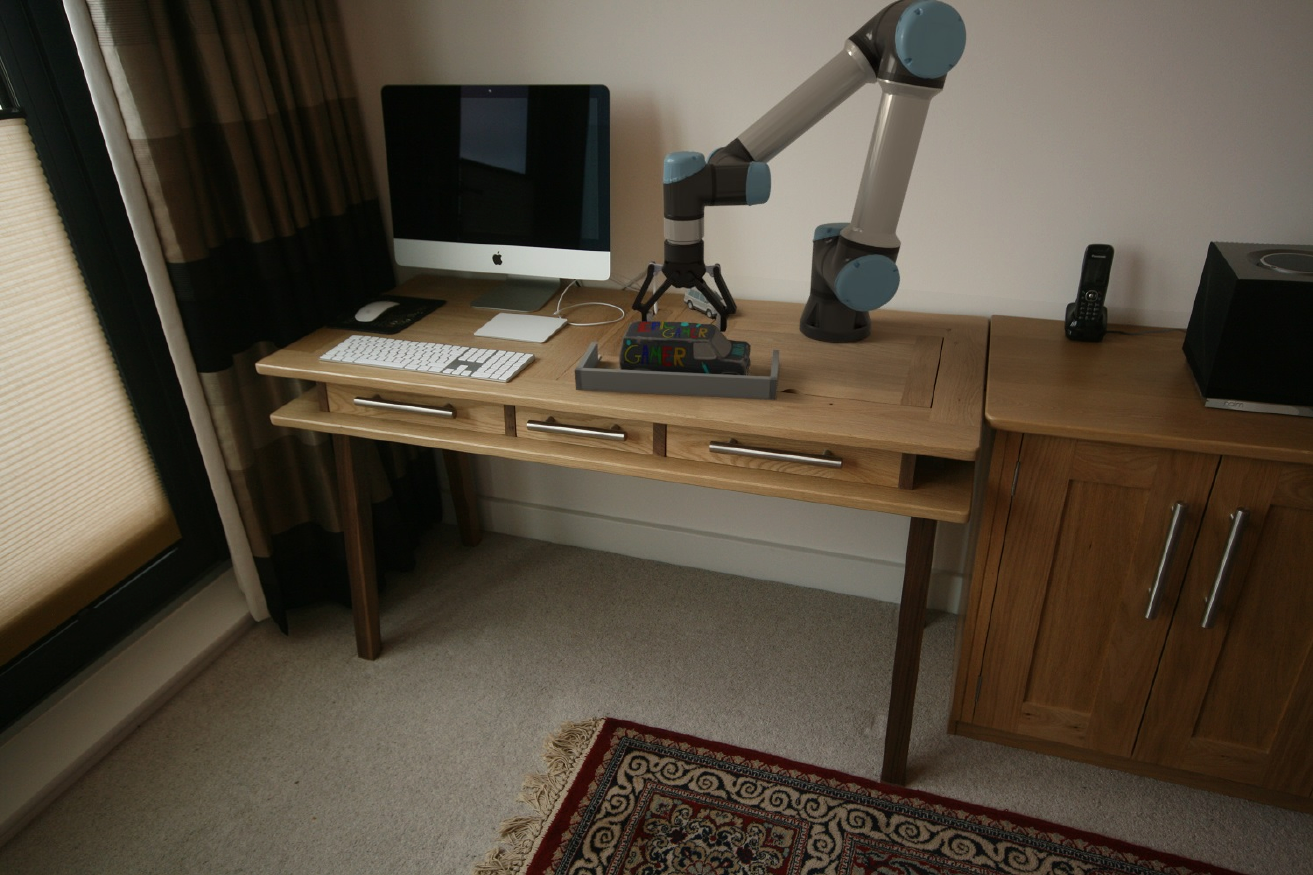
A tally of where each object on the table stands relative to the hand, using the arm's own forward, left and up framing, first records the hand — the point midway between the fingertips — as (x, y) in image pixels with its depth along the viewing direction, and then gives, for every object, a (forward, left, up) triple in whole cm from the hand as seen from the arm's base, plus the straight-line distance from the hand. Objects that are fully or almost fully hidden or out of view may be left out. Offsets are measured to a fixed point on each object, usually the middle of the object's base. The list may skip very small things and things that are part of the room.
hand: (684, 345), depth 172 cm
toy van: (-1, +7, -4) cm, 8 cm away
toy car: (-2, -31, -4) cm, 31 cm away
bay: (0, +8, -4) cm, 8 cm away
